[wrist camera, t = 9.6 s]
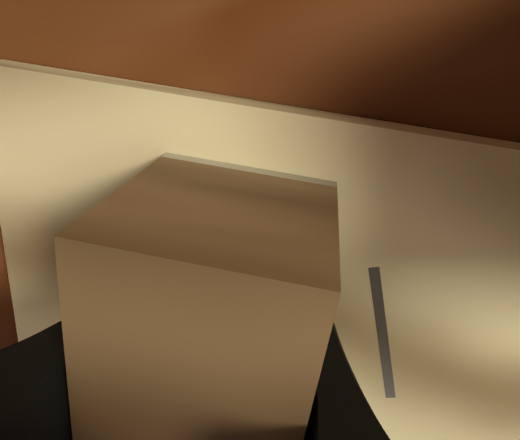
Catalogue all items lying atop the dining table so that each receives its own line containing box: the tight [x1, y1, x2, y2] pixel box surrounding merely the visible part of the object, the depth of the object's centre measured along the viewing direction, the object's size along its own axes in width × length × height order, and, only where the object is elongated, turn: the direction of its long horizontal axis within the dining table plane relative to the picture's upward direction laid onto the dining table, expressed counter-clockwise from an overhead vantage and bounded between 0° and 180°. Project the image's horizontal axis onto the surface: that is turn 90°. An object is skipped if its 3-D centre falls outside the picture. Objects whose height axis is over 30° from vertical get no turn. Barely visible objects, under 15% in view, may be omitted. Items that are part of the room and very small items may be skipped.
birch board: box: [0, 60, 520, 440], centre depth 13 cm, size 12×17×1 cm
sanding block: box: [53, 152, 341, 440], centre depth 11 cm, size 9×4×5 cm, turn 173°
